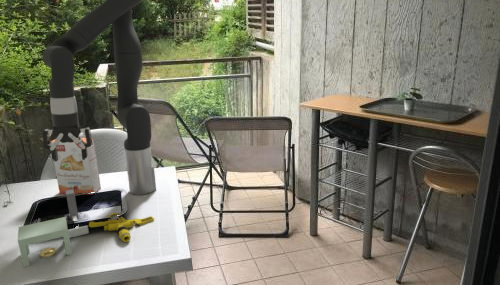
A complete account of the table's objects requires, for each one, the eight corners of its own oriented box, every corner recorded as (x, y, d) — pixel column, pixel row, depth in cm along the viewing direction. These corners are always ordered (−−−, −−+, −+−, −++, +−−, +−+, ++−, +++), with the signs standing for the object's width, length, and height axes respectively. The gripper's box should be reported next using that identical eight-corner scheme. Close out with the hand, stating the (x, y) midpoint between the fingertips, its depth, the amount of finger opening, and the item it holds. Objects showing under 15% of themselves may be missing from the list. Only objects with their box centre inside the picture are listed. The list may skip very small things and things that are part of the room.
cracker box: (58, 194, 151) (49, 141, 145) (67, 187, 157) (58, 136, 150) (94, 195, 149) (85, 141, 143) (101, 188, 155) (94, 136, 149)
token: (55, 248, 115) (55, 245, 115) (56, 255, 112) (55, 252, 112) (40, 252, 114) (39, 249, 113) (40, 259, 110) (39, 256, 110)
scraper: (83, 212, 136) (79, 188, 133) (88, 233, 123) (84, 206, 120) (64, 216, 134) (59, 191, 131) (67, 238, 120) (62, 211, 117)
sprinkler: (97, 237, 112) (86, 215, 124) (97, 250, 113) (86, 226, 125) (164, 226, 122) (148, 206, 134) (163, 238, 123) (147, 217, 135)
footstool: (69, 240, 119) (65, 216, 116) (72, 254, 112) (67, 228, 109) (24, 252, 113) (18, 227, 111) (23, 266, 107) (17, 240, 104)
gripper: (90, 108, 131) (95, 155, 135) (43, 109, 129) (50, 157, 133) (85, 112, 124) (91, 162, 128) (36, 114, 122) (43, 164, 126)
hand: (70, 159), depth 131 cm, fingers open, 8 cm apart
